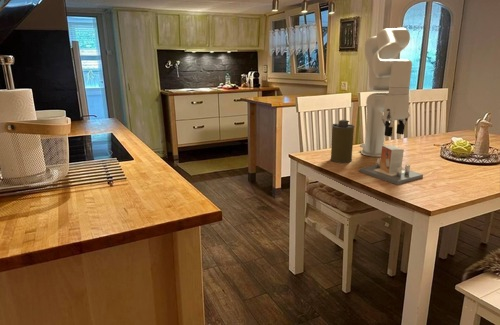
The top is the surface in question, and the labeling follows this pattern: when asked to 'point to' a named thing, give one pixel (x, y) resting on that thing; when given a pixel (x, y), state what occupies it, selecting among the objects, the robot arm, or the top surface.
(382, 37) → the robot arm
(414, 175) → the pin board
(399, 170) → the guide pins
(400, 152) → the small box
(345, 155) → the canister
